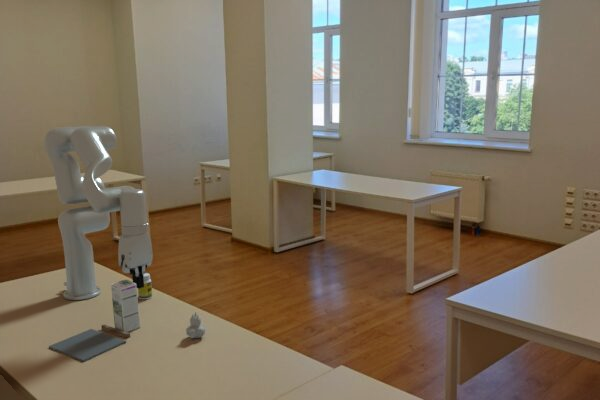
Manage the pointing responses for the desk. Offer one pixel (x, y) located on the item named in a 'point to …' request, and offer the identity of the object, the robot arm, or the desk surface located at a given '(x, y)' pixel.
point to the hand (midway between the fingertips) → (138, 286)
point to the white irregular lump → (195, 327)
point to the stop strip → (115, 331)
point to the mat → (87, 345)
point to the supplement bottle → (145, 288)
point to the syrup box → (125, 305)
